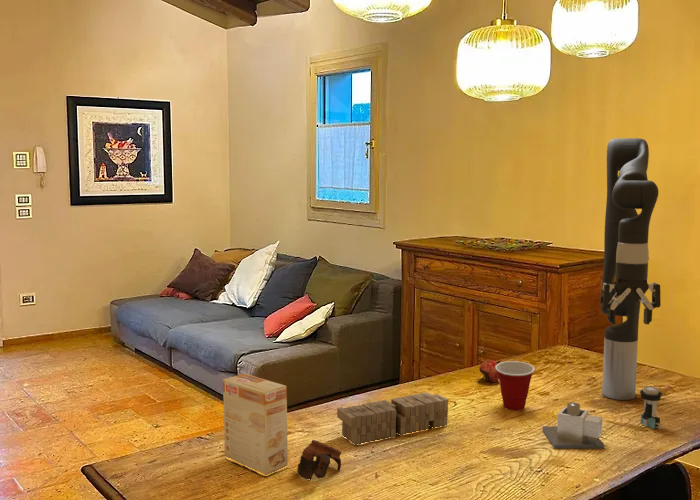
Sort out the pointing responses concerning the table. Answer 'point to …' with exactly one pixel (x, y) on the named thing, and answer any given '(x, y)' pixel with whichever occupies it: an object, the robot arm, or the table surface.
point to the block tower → (393, 417)
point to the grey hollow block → (578, 425)
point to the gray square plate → (568, 443)
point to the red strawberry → (489, 370)
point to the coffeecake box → (255, 422)
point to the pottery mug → (317, 460)
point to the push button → (650, 407)
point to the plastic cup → (514, 383)
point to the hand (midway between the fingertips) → (629, 323)
